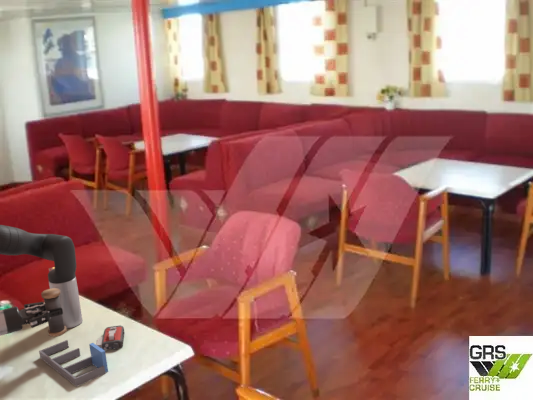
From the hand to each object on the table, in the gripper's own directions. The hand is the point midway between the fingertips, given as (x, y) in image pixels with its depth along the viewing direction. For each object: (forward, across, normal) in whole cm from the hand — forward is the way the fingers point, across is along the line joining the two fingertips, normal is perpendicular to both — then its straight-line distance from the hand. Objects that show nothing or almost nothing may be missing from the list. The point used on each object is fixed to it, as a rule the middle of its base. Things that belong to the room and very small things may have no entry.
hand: (60, 307), depth 200 cm
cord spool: (-2, 0, +8) cm, 8 cm away
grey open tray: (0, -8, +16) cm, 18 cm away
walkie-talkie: (+13, -2, +17) cm, 22 cm away
